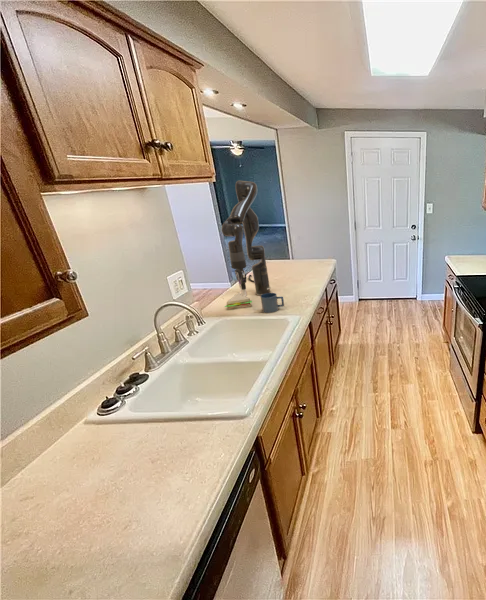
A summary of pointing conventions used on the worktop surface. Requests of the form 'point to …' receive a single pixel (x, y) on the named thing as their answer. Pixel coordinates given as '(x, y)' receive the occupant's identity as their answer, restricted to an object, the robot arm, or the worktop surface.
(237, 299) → the sandwich
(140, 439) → the worktop surface
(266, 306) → the mug
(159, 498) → the worktop surface
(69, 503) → the worktop surface
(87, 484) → the worktop surface
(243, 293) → the glue stick
